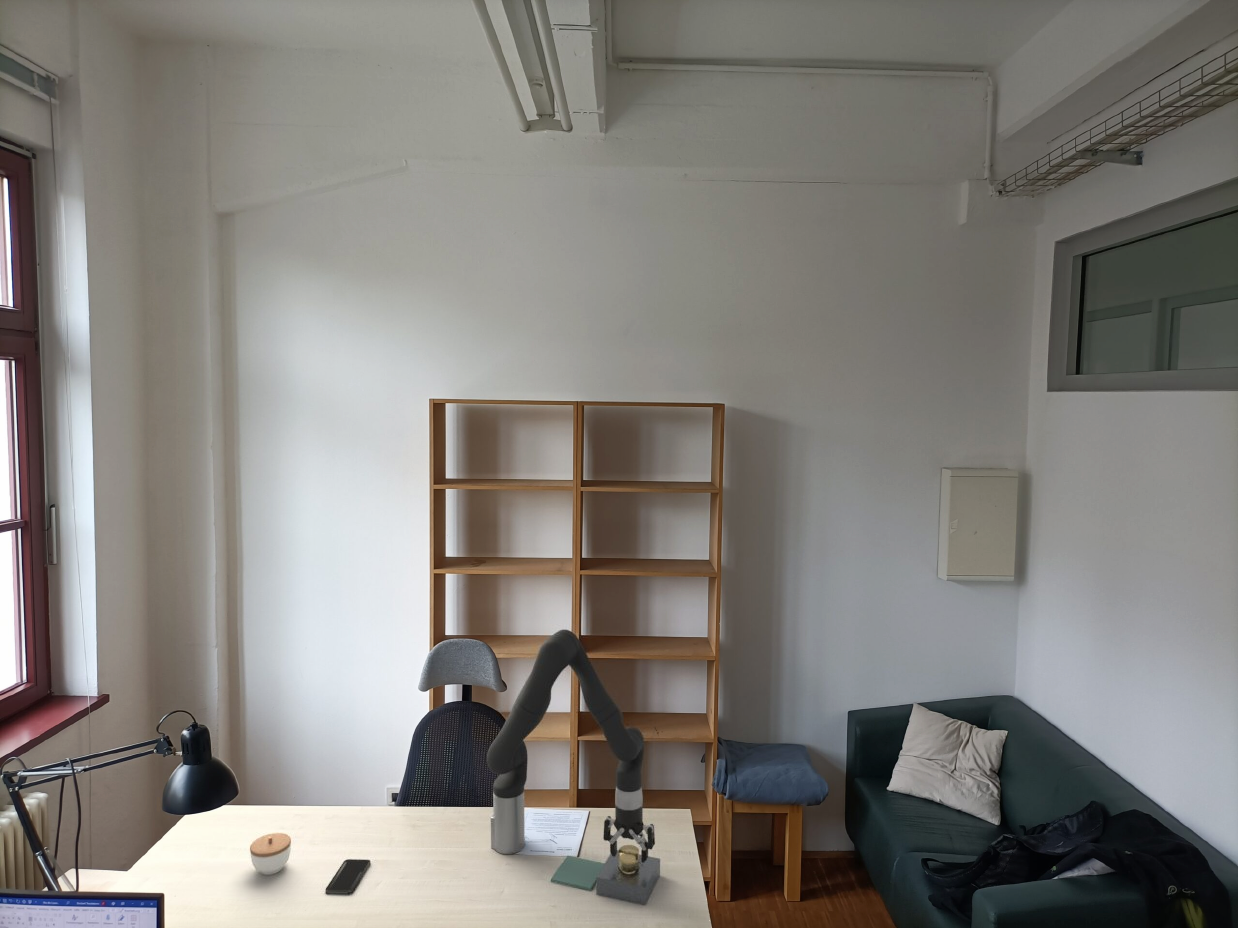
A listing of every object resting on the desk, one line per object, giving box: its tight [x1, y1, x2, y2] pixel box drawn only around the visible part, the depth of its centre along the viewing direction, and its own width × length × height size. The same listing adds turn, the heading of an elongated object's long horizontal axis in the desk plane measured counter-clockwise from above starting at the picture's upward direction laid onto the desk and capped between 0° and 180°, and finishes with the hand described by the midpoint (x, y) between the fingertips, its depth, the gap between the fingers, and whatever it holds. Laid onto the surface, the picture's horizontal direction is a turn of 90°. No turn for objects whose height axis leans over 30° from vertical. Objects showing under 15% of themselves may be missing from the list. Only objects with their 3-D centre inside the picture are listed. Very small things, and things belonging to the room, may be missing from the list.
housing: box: [595, 849, 661, 906], centre depth 220 cm, size 14×14×5 cm
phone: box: [325, 858, 371, 896], centre depth 224 cm, size 8×1×15 cm
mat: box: [550, 855, 605, 892], centre depth 226 cm, size 12×12×1 cm
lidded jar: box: [249, 832, 292, 876], centre depth 227 cm, size 11×11×9 cm
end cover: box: [618, 844, 640, 874], centre depth 220 cm, size 6×6×10 cm
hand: (629, 857), depth 220 cm, fingers open, 8 cm apart
